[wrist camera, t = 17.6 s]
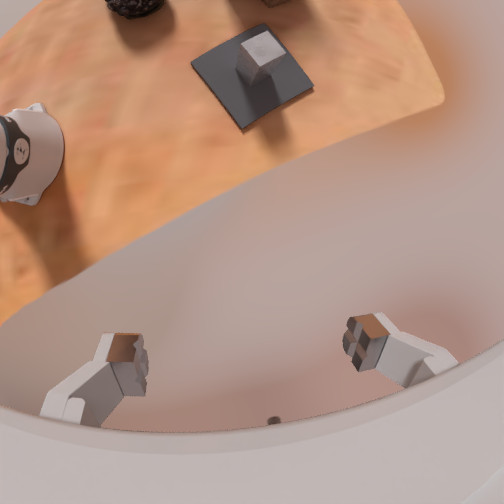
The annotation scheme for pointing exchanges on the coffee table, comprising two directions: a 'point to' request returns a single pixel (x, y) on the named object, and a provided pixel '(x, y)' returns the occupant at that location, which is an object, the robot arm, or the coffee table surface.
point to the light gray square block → (258, 58)
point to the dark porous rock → (134, 7)
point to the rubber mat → (235, 87)
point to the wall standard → (274, 2)
